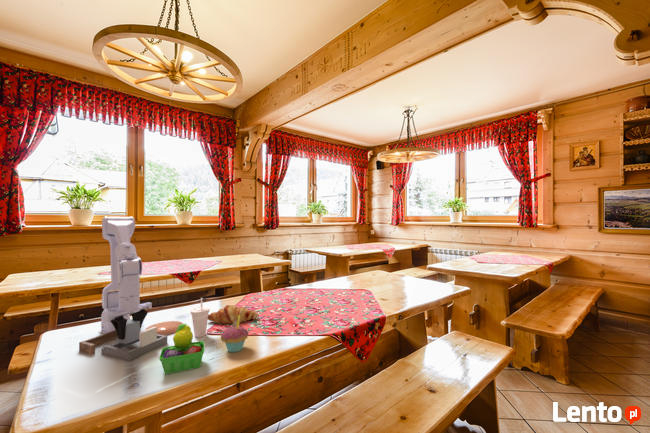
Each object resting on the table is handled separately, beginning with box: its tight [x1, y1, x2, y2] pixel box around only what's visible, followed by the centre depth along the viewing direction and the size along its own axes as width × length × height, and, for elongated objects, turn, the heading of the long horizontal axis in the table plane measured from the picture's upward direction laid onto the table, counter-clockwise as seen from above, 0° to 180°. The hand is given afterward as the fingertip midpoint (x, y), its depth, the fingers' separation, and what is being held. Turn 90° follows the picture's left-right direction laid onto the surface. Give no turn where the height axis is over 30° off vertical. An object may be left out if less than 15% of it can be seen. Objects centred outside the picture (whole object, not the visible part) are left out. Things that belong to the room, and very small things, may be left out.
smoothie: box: [190, 297, 210, 338], centre depth 103 cm, size 6×6×14 cm
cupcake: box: [220, 314, 249, 353], centre depth 93 cm, size 9×8×12 cm
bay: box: [78, 330, 118, 355], centre depth 97 cm, size 6×16×3 cm, turn 158°
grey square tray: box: [101, 327, 168, 362], centre depth 93 cm, size 13×13×7 cm
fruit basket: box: [158, 323, 205, 375], centre depth 82 cm, size 11×9×11 cm
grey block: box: [117, 319, 141, 345], centre depth 94 cm, size 4×4×6 cm
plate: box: [144, 320, 184, 336], centre depth 109 cm, size 13×13×1 cm
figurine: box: [230, 318, 237, 327], centre depth 105 cm, size 5×4×6 cm
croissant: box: [207, 304, 259, 325], centre depth 119 cm, size 21×10×8 cm, turn 101°
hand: (129, 336), depth 94 cm, fingers closed on grey block, 4 cm apart
